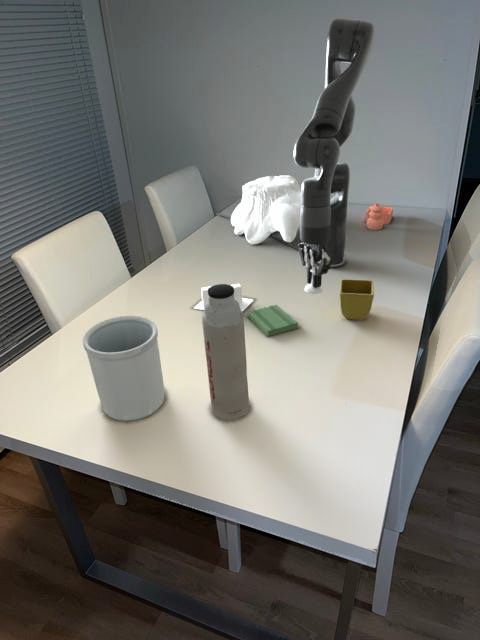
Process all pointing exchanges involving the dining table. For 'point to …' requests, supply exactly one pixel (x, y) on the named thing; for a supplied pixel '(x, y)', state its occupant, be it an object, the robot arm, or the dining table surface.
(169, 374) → the dining table surface
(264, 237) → the tree stump
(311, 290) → the chess piece
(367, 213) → the pottery
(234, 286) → the napkin holder
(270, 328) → the green flat rectangular block
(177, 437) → the dining table surface
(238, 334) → the thermos bottle
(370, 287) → the flower pot
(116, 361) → the utensil holder
